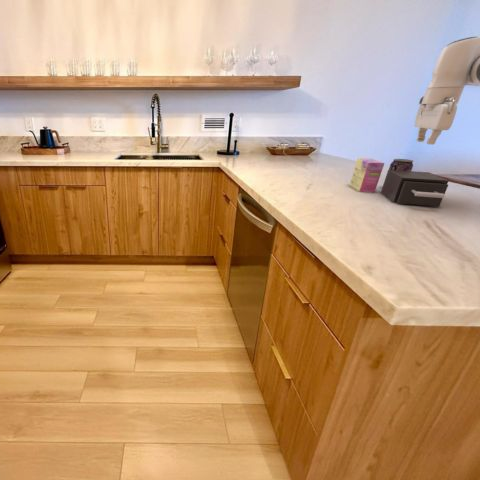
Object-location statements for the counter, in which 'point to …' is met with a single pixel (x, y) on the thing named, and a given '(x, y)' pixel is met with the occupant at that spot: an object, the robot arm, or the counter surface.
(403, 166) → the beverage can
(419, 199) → the basket
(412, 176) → the fryer
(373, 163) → the box
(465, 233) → the counter surface
